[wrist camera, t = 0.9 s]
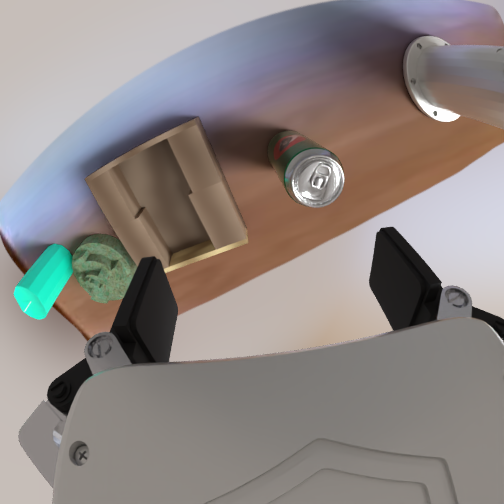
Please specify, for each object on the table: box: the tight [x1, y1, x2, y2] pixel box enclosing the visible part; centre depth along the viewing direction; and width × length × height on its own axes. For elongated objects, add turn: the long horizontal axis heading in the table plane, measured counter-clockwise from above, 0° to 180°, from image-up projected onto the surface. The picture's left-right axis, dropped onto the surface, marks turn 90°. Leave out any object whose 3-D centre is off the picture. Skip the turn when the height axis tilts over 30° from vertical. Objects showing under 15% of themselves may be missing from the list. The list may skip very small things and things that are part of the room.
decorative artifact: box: [72, 234, 137, 303], centre depth 34 cm, size 10×7×10 cm
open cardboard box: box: [85, 117, 248, 273], centre depth 30 cm, size 14×15×4 cm
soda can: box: [267, 131, 344, 208], centre depth 25 cm, size 5×5×12 cm
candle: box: [14, 244, 73, 319], centre depth 30 cm, size 6×6×12 cm
